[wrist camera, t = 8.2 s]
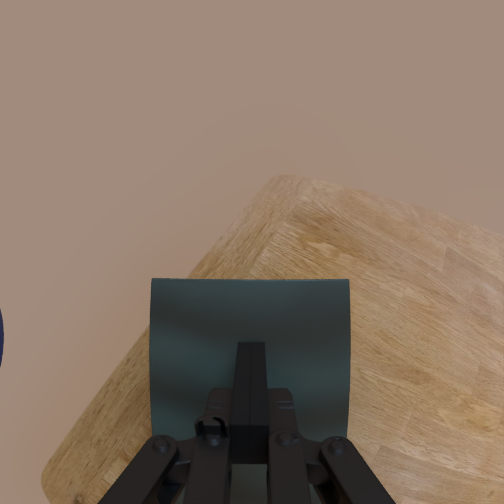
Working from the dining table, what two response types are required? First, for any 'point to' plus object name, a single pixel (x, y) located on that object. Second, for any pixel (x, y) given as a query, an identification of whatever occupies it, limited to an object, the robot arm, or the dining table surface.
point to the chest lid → (225, 350)
